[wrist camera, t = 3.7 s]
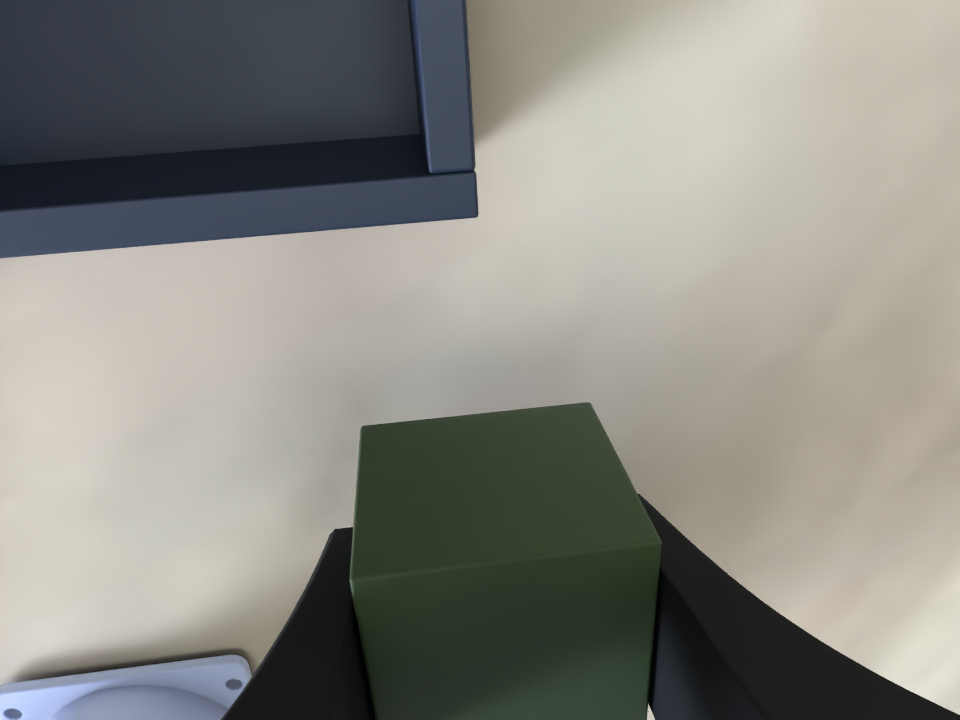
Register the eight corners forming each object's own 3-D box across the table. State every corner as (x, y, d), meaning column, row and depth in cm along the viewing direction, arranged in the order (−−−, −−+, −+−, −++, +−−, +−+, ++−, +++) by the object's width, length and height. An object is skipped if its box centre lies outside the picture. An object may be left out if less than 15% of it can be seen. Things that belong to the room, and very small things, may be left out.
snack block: (587, 572, 15) (646, 743, 12) (386, 597, 15) (384, 780, 11) (591, 400, 13) (664, 541, 10) (359, 424, 13) (348, 580, 9)
